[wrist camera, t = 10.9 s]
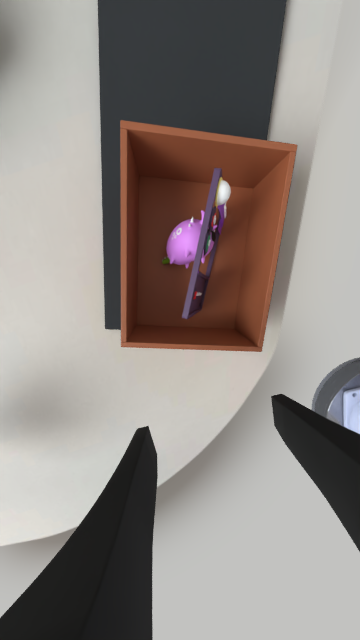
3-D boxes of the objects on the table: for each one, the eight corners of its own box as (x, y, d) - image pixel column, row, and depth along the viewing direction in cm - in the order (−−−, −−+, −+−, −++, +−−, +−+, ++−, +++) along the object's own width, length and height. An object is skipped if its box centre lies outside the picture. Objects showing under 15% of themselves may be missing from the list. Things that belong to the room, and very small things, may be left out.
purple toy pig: (197, 322, 12) (234, 166, 10) (126, 304, 13) (148, 160, 11) (208, 311, 19) (233, 214, 17) (160, 299, 20) (178, 207, 18)
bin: (136, 174, 17) (120, 119, 11) (253, 188, 17) (297, 144, 12) (134, 326, 20) (120, 347, 14) (234, 330, 21) (261, 352, 15)
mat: (86, -656, 9) (81, -709, 8) (356, -521, 10) (366, -562, 10) (106, 327, 19) (105, 329, 19) (237, 333, 21) (239, 334, 20)
